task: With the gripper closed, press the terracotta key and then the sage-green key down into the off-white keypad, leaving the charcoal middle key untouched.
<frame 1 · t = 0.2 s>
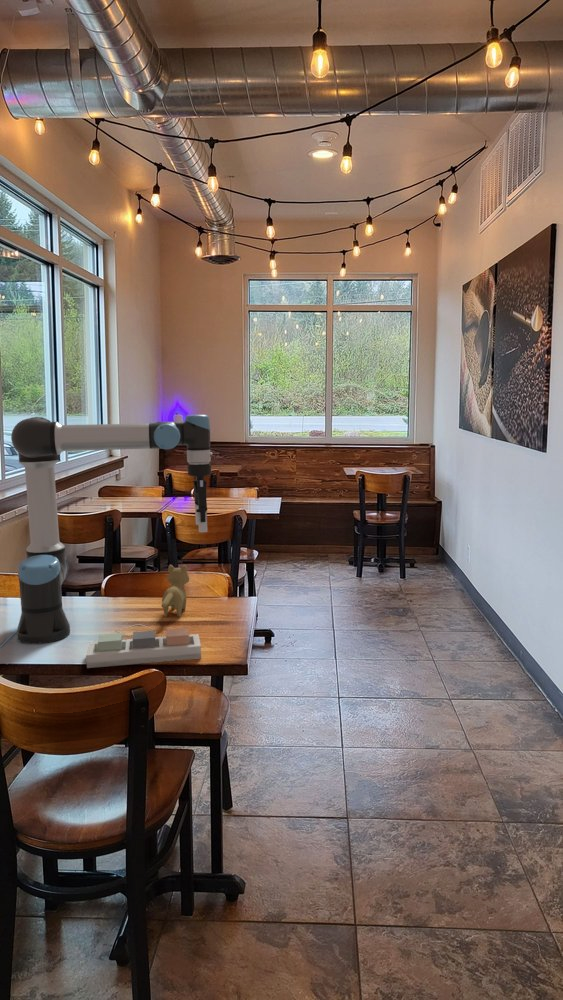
hand: (201, 528, 227), 28 cm above the table, fingers open, 13 cm apart
keypad: (145, 656, 191), on the table
key charcoal: (144, 638, 190), point 5 cm above the table, slide at 0.0 cm
flat thin panel: (142, 634, 211), on the table
key sage: (110, 641, 189), point 5 cm above the table, slide at 0.0 cm
key terracotta: (177, 636, 192), point 5 cm above the table, slide at 0.0 cm
toy: (173, 615, 227), on the table
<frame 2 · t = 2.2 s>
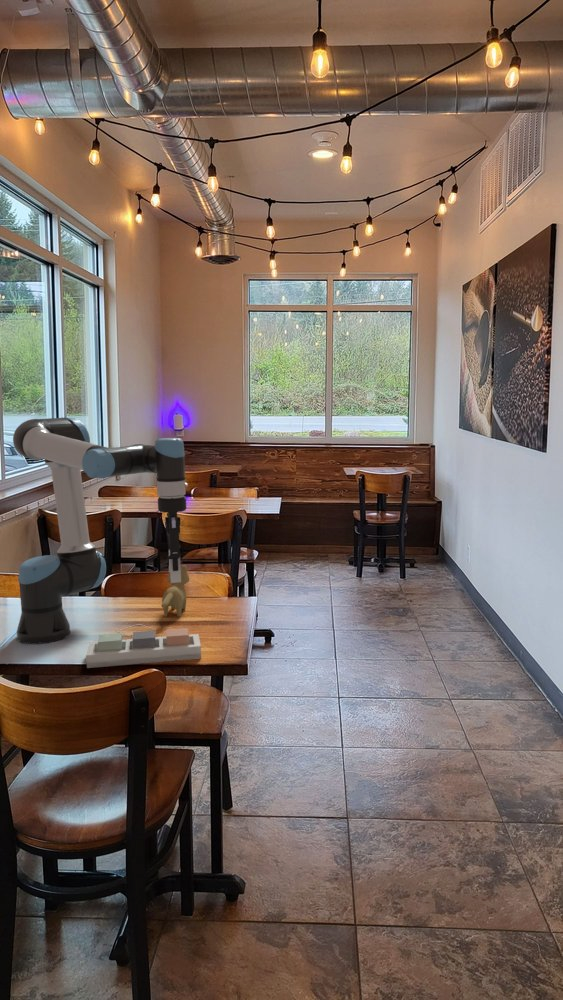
hand: (175, 577, 190), 22 cm above the table, fingers open, 10 cm apart
nothing on the table moved.
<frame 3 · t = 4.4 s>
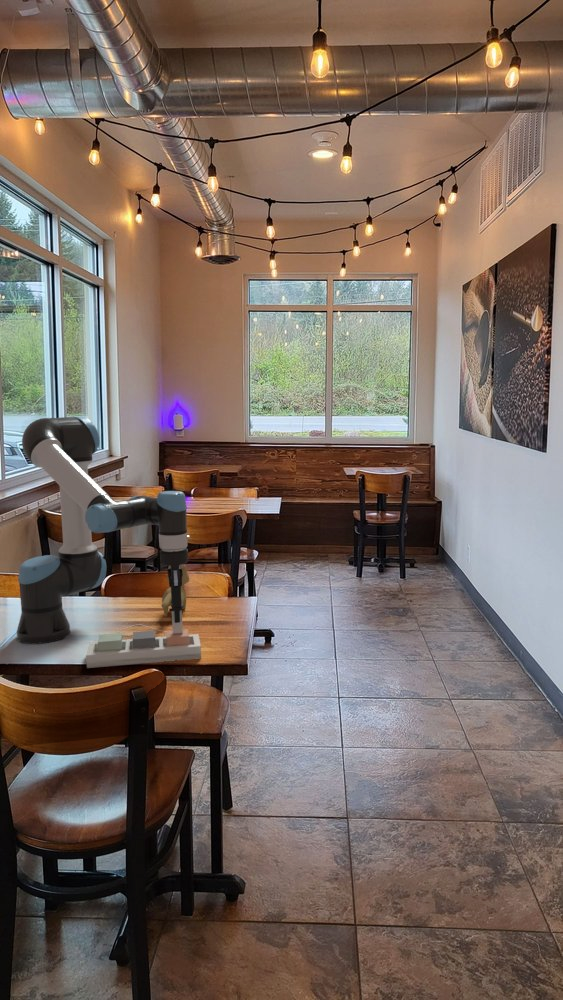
hand: (177, 632, 192), 6 cm above the table, fingers closed
key terracotta: (177, 637, 192), point 5 cm above the table, slide at 0.3 cm, touching gripper
everything else where it was.
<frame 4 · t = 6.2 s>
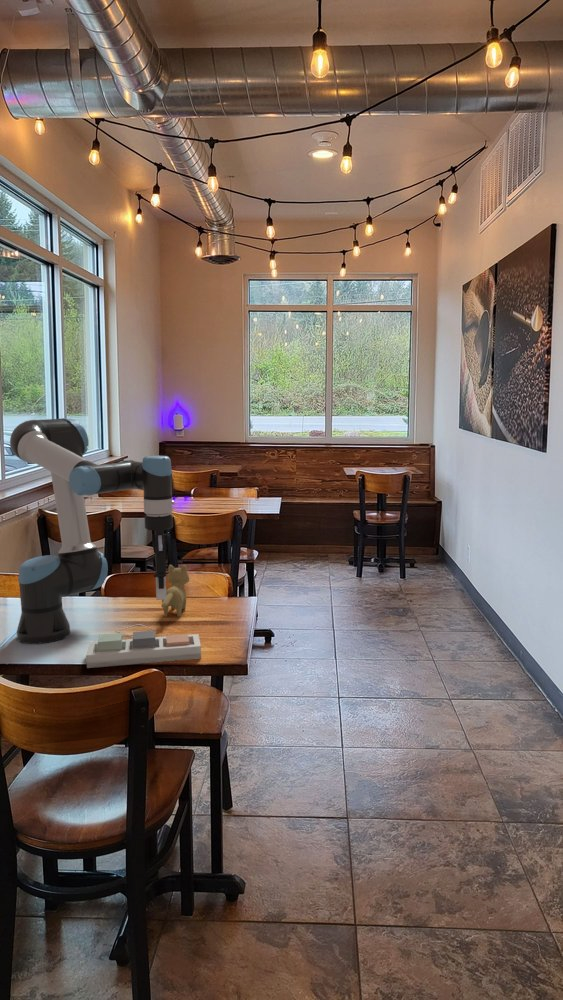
hand: (161, 598, 190), 16 cm above the table, fingers closed
key terracotta: (177, 642, 192), point 3 cm above the table, slide at 1.8 cm
everything else where it was.
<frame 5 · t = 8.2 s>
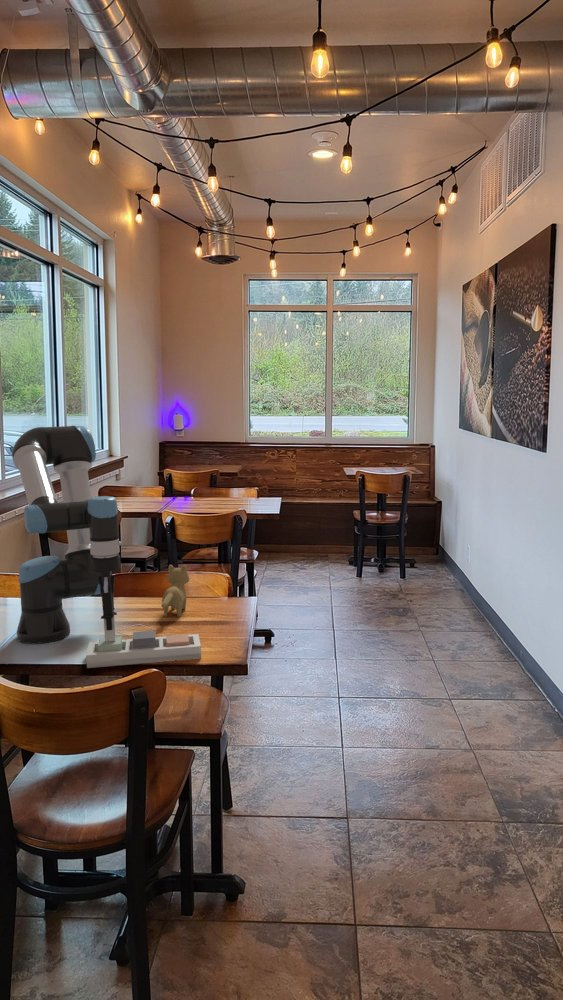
hand: (110, 640, 189), 5 cm above the table, fingers closed
key sage: (110, 645, 189), point 4 cm above the table, slide at 1.0 cm, touching gripper
everything else where it was.
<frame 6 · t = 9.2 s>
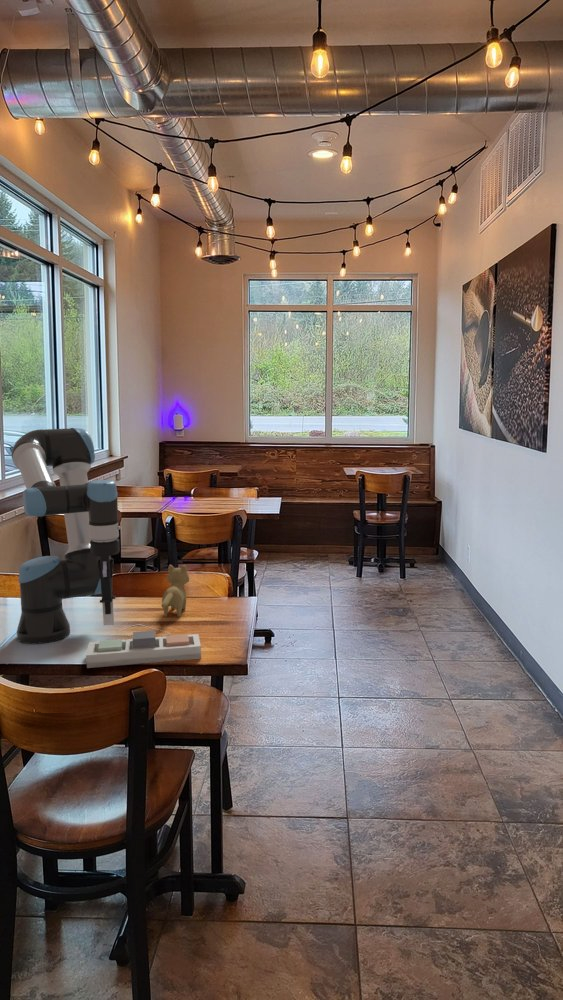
hand: (108, 624, 189), 10 cm above the table, fingers closed
key sage: (110, 647, 189), point 3 cm above the table, slide at 1.8 cm
everything else where it was.
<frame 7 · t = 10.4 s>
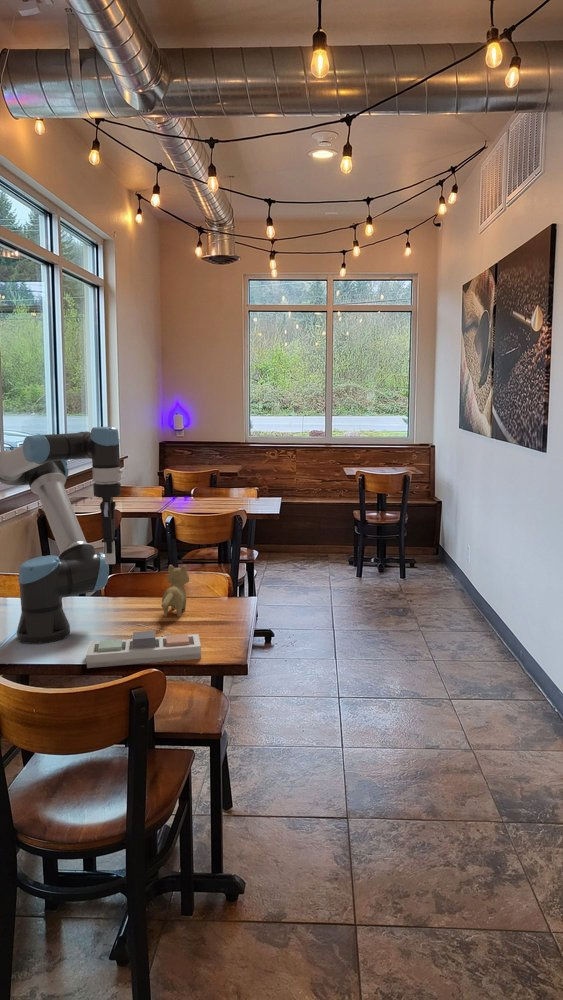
hand: (110, 563, 200), 23 cm above the table, fingers closed
nothing on the table moved.
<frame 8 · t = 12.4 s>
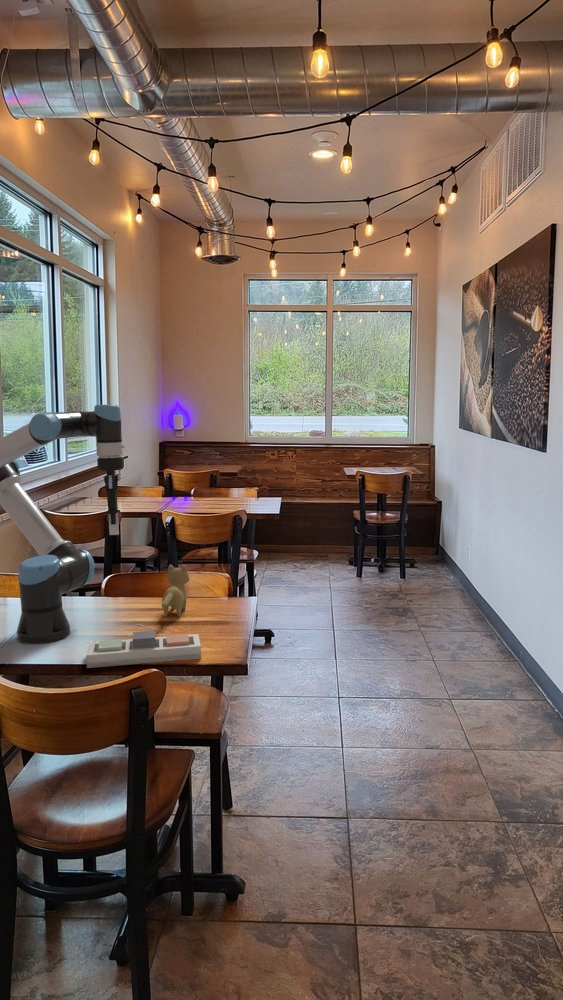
hand: (114, 534, 211), 29 cm above the table, fingers closed
nothing on the table moved.
at the end: key terracotta slide at 1.8 cm; key sage slide at 1.8 cm; key charcoal slide at 0.0 cm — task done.
